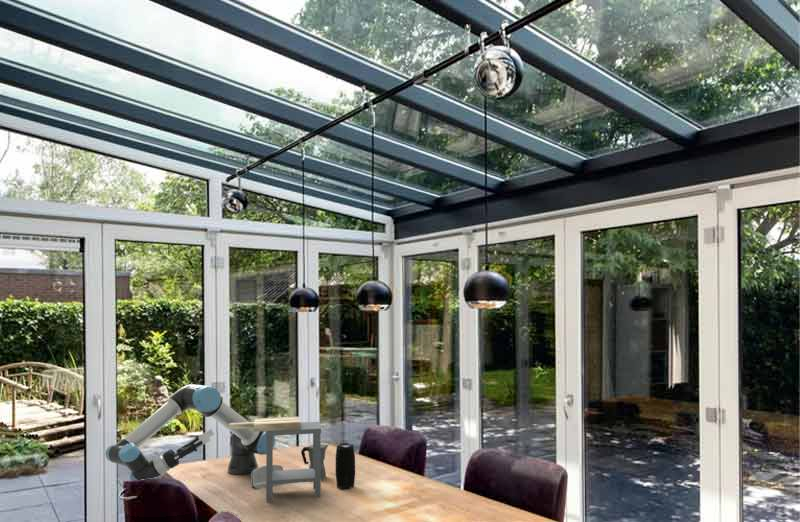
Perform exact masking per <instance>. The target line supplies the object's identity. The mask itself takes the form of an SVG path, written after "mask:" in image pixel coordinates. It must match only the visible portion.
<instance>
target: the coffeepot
mask: <svg viewBox="0 0 800 522" xmlns="http://www.w3.org/2000/svg"><path fill="white" fill-rule="evenodd" d="M328 447H329V445H328V444H321V443H320V451H321V480H323V479H326V478H327V473H326V466H325V464H324V461H325V458H326V457H325V456H326V452H327V451H326V450H327V449H328ZM305 452H308V459H309V461H307V457H306V453H305ZM300 454H301V457H302V459H303V460H302V461H303V463H304V464H305V465H309V466H308V469H311V468H313V444H311V445H307V446H304V447H302V449H301V451H300Z"/></svg>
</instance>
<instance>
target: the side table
mask: <svg viewBox="0 0 800 522" xmlns="http://www.w3.org/2000/svg"><path fill="white" fill-rule="evenodd" d="M321 434H322V426H321V424H320V421H307V422H306V421H305V422H300V429H297V430H277V431H266V454H265V455H266V457H265V458H266V460H265V461H266V464H265V465H266V487H265V489H266V490H265V492H266V498H265V499H266V501H265V502H266V503H271V502H273V489H274V488H273V487H274V486H273V484H280V485H286V484H299V483H311V482H312V484H313V486H312V488H313V490H314V498H315V499H321V498H322V496H321V495H322V487H321V485H322V484H321V483H322V482H321V481H322V479H321V451H320V444H321ZM293 435H294V436H296V435H312V445H313V468H311V469H309V468H300V469H299V468H298V469H296V468H295V469H283V470H279V471H273V465H274V464H273V463H274V461H273V458H274V455H273V454H274V453H273V451H274V450H273V449H274V447H273V436H276V437H277V436H278V437H279V436H293Z"/></svg>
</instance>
